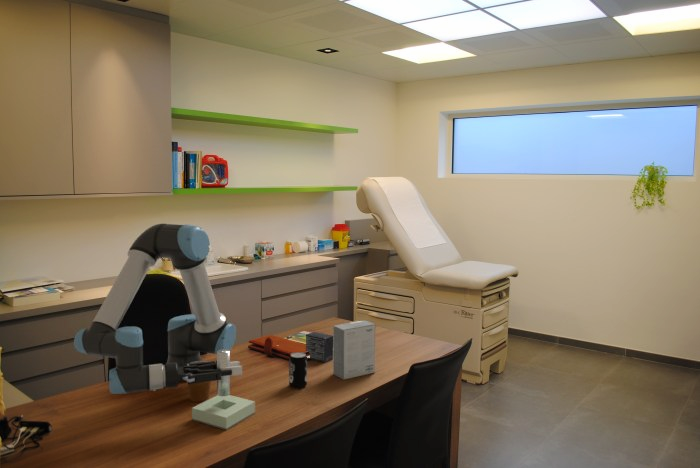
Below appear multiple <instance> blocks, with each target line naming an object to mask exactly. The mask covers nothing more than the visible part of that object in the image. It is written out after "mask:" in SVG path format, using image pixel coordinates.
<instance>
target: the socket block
mask: <svg viewBox="0 0 700 468" xmlns="http://www.w3.org/2000/svg"><path fill="white" fill-rule="evenodd" d="M255 413H256V401H254V400H250V399H246V398H243V397H239V396H234V395H231V394H229V395H227V396H218V395H217V394H216V395H215V396H212V397H210V398H209V399H208V400H206V401H202V402H201V403H199V404H196V406H193V407H192V408H191V420H192V421H195V422H197V423H201V424H204V425H208V426H211V427H215V428H218V429H220V430H221V429H222V430H225V431H228V430H229V429H231V428H233V427H234V426H237V424H239V423H242V422H243V421H244V420H246V419H248V418H249V417H251V416H254V415H255Z"/></svg>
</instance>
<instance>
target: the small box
mask: <svg viewBox="0 0 700 468" xmlns="http://www.w3.org/2000/svg"><path fill="white" fill-rule="evenodd" d="M306 351H308V352H309V353H310V359H309V360H312V361H315V362H316V361H317V362H321V363H327V362H330V361H332V360H333V334H332V335H331V334H326V333H321V332H317V331H313V332H310V333H306V334H305V352H306Z"/></svg>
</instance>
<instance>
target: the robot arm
mask: <svg viewBox="0 0 700 468" xmlns="http://www.w3.org/2000/svg"><path fill="white" fill-rule="evenodd" d="M210 243H211V242H210V238H209V235H208V233H207V232H206V230H205V229H204V228H202V227H200V226H198V225H193V224H174V223H173V224H172V223H158V224H153V225H151V226H150V227H147V229H145V230H144V231H143V232H142V233H141V234H140V235H139V236H138V237H137V238H136V239H135V240H134V241H133V243H132V244H131V246H130V247H129V250H128V251H127V253H126V254H127V256H128V258H127V259H126V261H125V263H124V264H123V267H122V268H121V270H120V272H119V274H118V275H117V277H116V279H115V281H114V283H113V284H112V287H111V288H110V290H109V292H108V294H107V296H106V297H105V299H104V301H103V303H102V304H101V306H100V307H99V309H98V311H97V313H96V315H95V317H94V318H93V320H92V322H91V324H90V326H89V327H87V328H85V327H84V328H82V329H81V328H80V330H79V331H77V333H76V334H75V337H74V339H73V345H74V349H75V350H76V351H77V352H78V353H82V354H85V355H88V356H99V357H104V358H105V357H106V358H112V359H115V367H114V368H111V369H110V370H108V371H109V372H108V373H109V375H108V376H109V377H108V379H109V380H108V381H109V383H108V384H109V387H108V388H109V392H110V393H111V394H112V395H116V394H118V395H121V394H125V395H127V394H130V393H137V392H138V393H139V392H145V391H147V392H149V391H153V392H156V390H162V389H164V387H165V389H172V388H173V389H174V388H177V387H178V386H179V382H181V383H182V382H185V383H187V386H188V385H190V384H194V383H200V382H208V381H211V382H215V381H216V382H217V380H221V377H225V376H230V377H232V376H233V377H234V376H242V375H243V366H242V365H240V361H239V360H235V361H230V367H224V368H221V369H217V359H216V360H213V361H211V360H210V361H208V362H199V363H191V362H195V361H203V359H202V357H201V354H200V352H201V353H206V354H207V353H208V354H214V355H217V351H218V350H222V349H227V350H230V351H231V350H232V348H233V347H234V344H235V341H236V337H237V328H236V325H234V323H230V322H229V323H228V322H227V318H226V316H225V314H224V313H222V312H220V311H219V307H218V304H217V301H216V298H215V294H214V291H213V288H212V285H211V281H210V278H209V274H208V272H207V269H206V265H205V262H206V260H207V256H208V255H209V253H210V247H209V246H210ZM161 258H164V259H170V261H171V265H172V267H173V268H174V269H175V270H177V271H179V275H180V276H181V280H182V282H183V286H184V289H185V291H186V293H187V297H188V299H189V302H190V305H191V308H192V311H193V314H192V313H190V314H183V315H179V316H174V317H173V318H170V319H169V321H168V324H167V329H166V331H167V345H168V346H167V349H168V351H167V352H168V354H167V355H168V357H167V361H166V363H165V364H163V363H154V364H146V365H144V339H143V330H142V328H140V327H138V326H135V325H134V326H123V327H119V326H120V324H121V323H122V321H123V319H124V316H125V315H126V313H127V311H128V309H129V308H130V305H131V304H132V302H133V300H134V298H135V296H136V294H137V292H138V291H139V289H140V287H141V285H142V283H143V280H144V279H145V278H146V275H147V274H148V272H149V270H150V269H151V267H155V264H156V263H157V261H158V260H160V259H161Z"/></svg>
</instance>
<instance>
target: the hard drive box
mask: <svg viewBox="0 0 700 468" xmlns="http://www.w3.org/2000/svg"><path fill="white" fill-rule="evenodd" d="M332 327H333V328H332V332H333V334H332V335H333V359H332V360H333V361H332V363H333V365H332V366H333V368H332V369H333V375H335V377H337V378H339V379H341V380H343V381H344V380H349V379H353V378H357V377H360V376H367V375H370V374H375V373H376V324H375V323H373V322H370V321H368V320H365V319H363V320H359V321H351V322H348V323H347V322H346V323H341V324H336V325H333V326H332Z"/></svg>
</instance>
